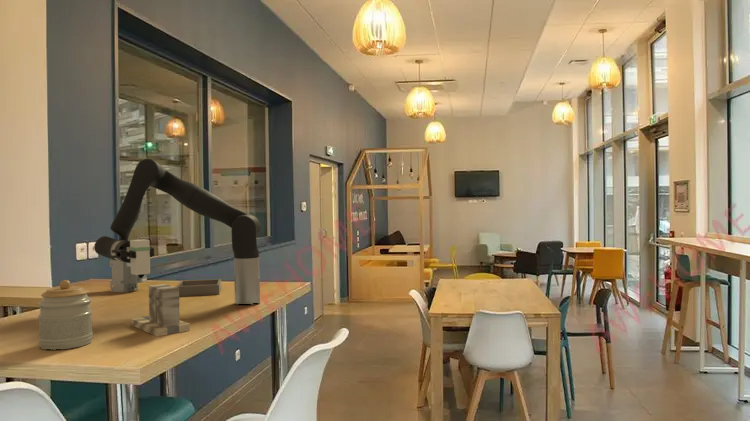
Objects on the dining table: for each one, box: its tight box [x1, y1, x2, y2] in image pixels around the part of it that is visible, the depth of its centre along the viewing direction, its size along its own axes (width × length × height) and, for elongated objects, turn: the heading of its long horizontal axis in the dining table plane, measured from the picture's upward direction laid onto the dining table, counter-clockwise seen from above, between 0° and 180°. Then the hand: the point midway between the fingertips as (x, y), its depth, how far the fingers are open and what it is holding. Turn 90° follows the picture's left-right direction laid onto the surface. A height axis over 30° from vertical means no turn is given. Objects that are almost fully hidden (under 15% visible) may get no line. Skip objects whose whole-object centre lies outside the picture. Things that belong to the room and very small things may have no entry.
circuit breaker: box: [109, 259, 148, 293], centre depth 241 cm, size 8×14×15 cm, turn 78°
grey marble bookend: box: [130, 283, 191, 337], centre depth 170 cm, size 20×10×13 cm, turn 43°
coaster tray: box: [175, 278, 222, 297], centre depth 235 cm, size 17×17×4 cm
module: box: [129, 238, 151, 275], centre depth 181 cm, size 5×5×11 cm
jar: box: [37, 279, 94, 351], centre depth 151 cm, size 13×13×18 cm
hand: (143, 254), depth 179 cm, fingers closed on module, 4 cm apart
